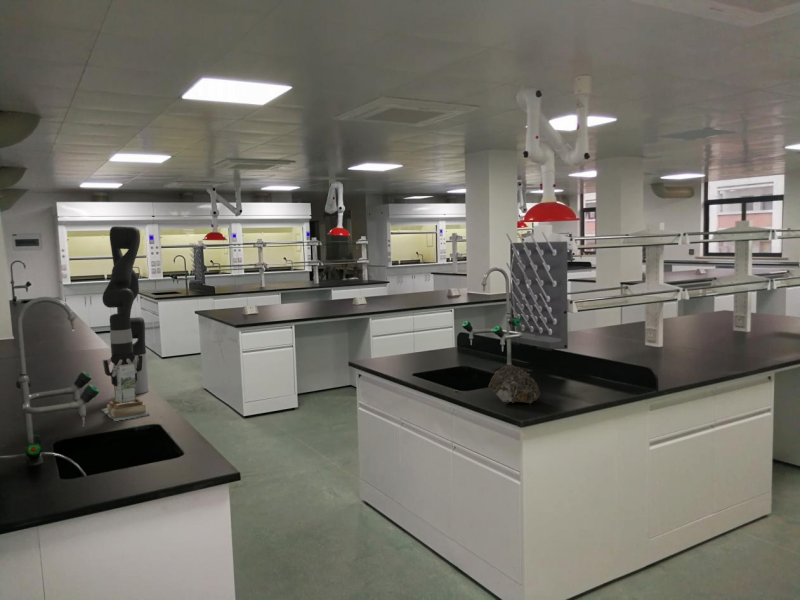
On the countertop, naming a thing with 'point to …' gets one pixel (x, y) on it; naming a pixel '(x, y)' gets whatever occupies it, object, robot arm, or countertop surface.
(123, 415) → the build plinth
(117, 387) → the syrup box
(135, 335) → the robot arm
